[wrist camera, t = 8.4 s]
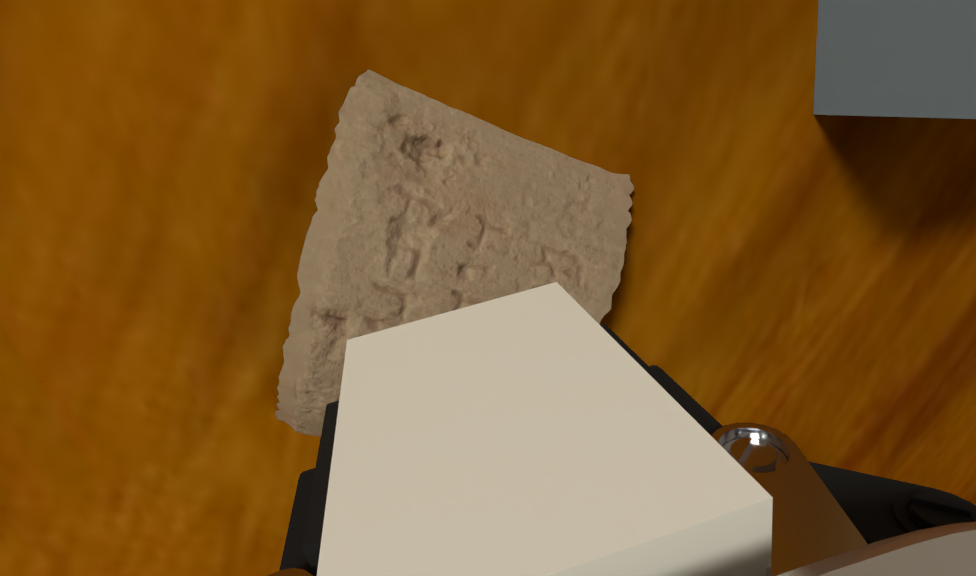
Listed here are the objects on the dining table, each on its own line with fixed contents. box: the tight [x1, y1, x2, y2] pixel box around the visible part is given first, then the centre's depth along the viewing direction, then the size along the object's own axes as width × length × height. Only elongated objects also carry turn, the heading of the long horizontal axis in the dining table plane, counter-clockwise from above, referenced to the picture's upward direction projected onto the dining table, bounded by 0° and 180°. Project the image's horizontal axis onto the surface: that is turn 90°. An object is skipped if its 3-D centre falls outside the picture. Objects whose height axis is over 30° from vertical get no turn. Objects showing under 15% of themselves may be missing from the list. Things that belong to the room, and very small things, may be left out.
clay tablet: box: [275, 69, 634, 436], centre depth 17 cm, size 14×10×3 cm
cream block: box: [317, 282, 773, 576], centre depth 9 cm, size 5×5×7 cm
